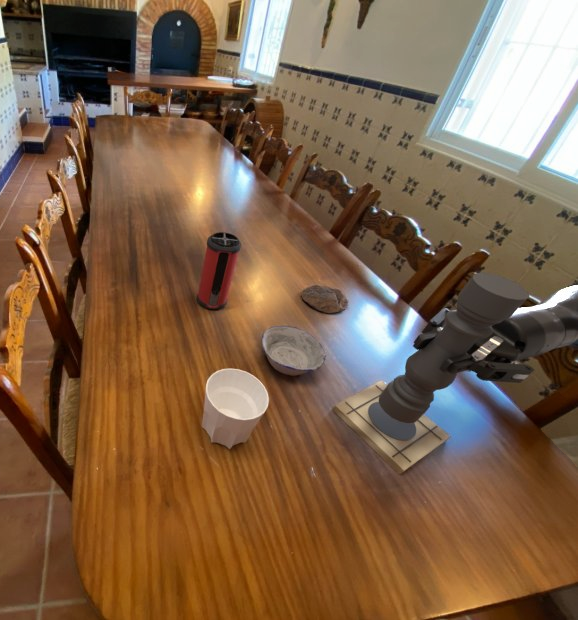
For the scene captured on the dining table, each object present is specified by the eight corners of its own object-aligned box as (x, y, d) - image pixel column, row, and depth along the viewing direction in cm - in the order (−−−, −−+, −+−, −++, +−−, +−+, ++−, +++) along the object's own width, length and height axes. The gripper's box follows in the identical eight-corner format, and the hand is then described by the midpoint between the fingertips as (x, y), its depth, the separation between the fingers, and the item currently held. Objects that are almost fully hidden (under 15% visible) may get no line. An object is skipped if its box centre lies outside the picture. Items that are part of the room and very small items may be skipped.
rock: (294, 288, 99) (297, 281, 97) (335, 288, 100) (338, 281, 98) (310, 314, 90) (313, 306, 88) (354, 314, 91) (358, 306, 89)
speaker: (196, 308, 89) (208, 245, 77) (196, 290, 95) (207, 228, 83) (227, 312, 88) (243, 248, 77) (225, 293, 94) (240, 232, 83)
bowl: (307, 342, 82) (315, 326, 79) (326, 387, 72) (335, 371, 69) (251, 337, 82) (257, 322, 79) (262, 382, 72) (269, 366, 69)
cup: (248, 462, 59) (264, 428, 52) (190, 440, 61) (199, 406, 55) (256, 413, 66) (271, 379, 60) (204, 396, 68) (213, 361, 62)
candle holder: (370, 397, 61) (458, 275, 45) (396, 387, 63) (490, 268, 47) (401, 428, 56) (511, 305, 40) (428, 416, 58) (543, 295, 42)
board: (446, 440, 64) (451, 436, 63) (399, 475, 59) (404, 470, 58) (377, 384, 74) (381, 379, 73) (331, 409, 68) (335, 404, 67)
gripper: (485, 287, 57) (403, 303, 53) (590, 349, 47) (499, 375, 43) (457, 322, 62) (380, 339, 58) (546, 385, 52) (461, 412, 47)
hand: (431, 354), depth 50 cm, fingers closed on candle holder, 4 cm apart
